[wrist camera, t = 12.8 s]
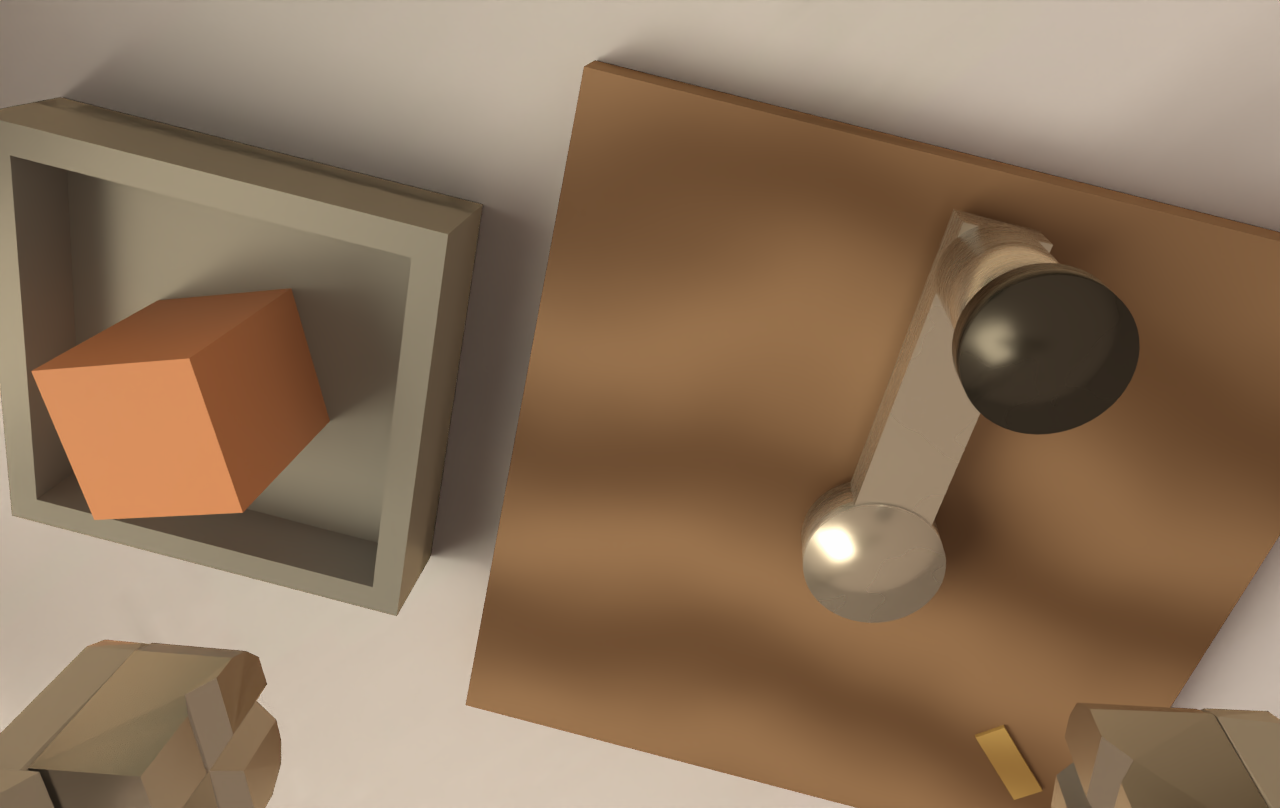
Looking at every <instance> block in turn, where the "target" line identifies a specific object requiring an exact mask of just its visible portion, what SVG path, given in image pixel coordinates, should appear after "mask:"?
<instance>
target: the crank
mask: <svg viewBox="0 0 1280 808" xmlns="http://www.w3.org/2000/svg"><path fill="white" fill-rule="evenodd" d="M1052 246H1053V244H1052V243H1051V242H1050V241H1049V240H1048V239H1047V238H1046V237H1045V236H1044V235H1043V234H1042V233H1041V232H1040V231H1038V230H1034V229H1030V228H1027V227H1023V226H1019V225H1015V224H1011V223H1007V222H1003V221H999V220H995V219H991V218H987V217H983V216H979V215H975V214H971V213H967V212H963V211H959V210H955V209H953V212H952V215H951V217H950V220H949V223H948V225H947V228H946V231H945V233H944V236H943V239H942V241H941V244H940V247H939V249H938V252H937V254H936V257H935V260H934V262H933V265H932V268H931V270H930V273H929V276H928V278H927V281H926V284H925V286H924V289H923V292H922V294H921V297H920V300H919V302H918V305H917V308H916V310H915V313H914V315H913V318H912V321H911V323H910V326H909V329H908V331H907V334H906V337H905V339H904V342H903V345H902V347H901V350H900V353H899V355H898V358H897V361H896V363H895V366H894V369H893V371H892V374H891V376H890V379H889V382H888V384H887V387H886V390H885V392H884V395H883V398H882V400H881V403H880V406H879V408H878V411H877V414H876V416H875V419H874V422H873V424H872V427H871V430H870V432H869V435H868V437H867V440H866V443H865V445H864V448H863V451H862V453H861V456H860V459H859V461H858V464H857V467H856V469H855V472H854V475H853V477H852V480H851V481H849V482H846V483H843V484H840V485H838V486H836V487H834V488H832V489H830V490H829V491H827V492H826V493H824V494H823V495H822V496H821V497H820V498H818V499H817V500H816V501H815V503H814V504H813V505H812V506H811V508H810V509H809V511H808V512H807V514H806V517H805V519H804V522H803V526H802V532H801V541H802V559H803V573H804V578H805V581H806V584H807V586H808V588H809V590H810V592H811V593H812V594H813V596H814V597H815V598H816V600H817V601H818V602H819V603H820V604H821V605H823V606H824V607H825V608H827V609H828V610H830V611H831V612H833V613H835V614H837V615H839V616H841V617H843V618H847V619H850V620H854V621H858V622H867V623H880V622H888V621H893V620H897V619H900V618H903V617H906V616H908V615H910V614H912V613H914V612H916V611H917V610H919V609H920V608H922V607H923V606H924V605H926V604H927V603H928V602H929V601H930V600H931V599H932V598H933V596H934V595H935V594H936V592H937V591H938V589H939V588H940V586H941V584H942V581H943V578H944V575H945V570H946V558H945V552H944V549H943V545H942V542H941V538H940V535H939V532H938V528H937V525H936V522H935V517H936V514H937V512H938V510H939V507H940V505H941V503H942V501H943V498H944V496H945V494H946V491H947V489H948V487H949V484H950V482H951V480H952V477H953V475H954V473H955V470H956V468H957V466H958V464H959V461H960V459H961V457H962V454H963V452H964V450H965V447H966V445H967V443H968V440H969V438H970V436H971V433H972V431H973V429H974V427H975V424H976V422H977V420H978V417H979V415H980V413H981V414H982V415H983V416H984V417H985V418H987V419H988V420H990V421H991V422H993V423H994V424H996V425H998V426H1001V427H1003V428H1005V429H1008V430H1011V431H1014V432H1019V433H1024V434H1035V435H1039V434H1052V433H1059V432H1063V431H1067V430H1071V429H1073V428H1076V427H1079V426H1081V425H1083V424H1085V423H1087V422H1089V421H1091V420H1093V419H1094V418H1096V417H1098V416H1099V415H1101V414H1102V413H1103V412H1105V411H1106V410H1107V409H1108V408H1109V407H1111V406H1112V405H1113V404H1114V403H1115V402H1116V401H1117V400H1118V399H1119V397H1120V396H1121V395H1122V393H1123V392H1124V391H1125V389H1126V388H1127V386H1128V384H1129V383H1130V381H1131V379H1132V377H1133V374H1134V372H1135V370H1136V366H1137V362H1138V358H1139V350H1140V345H1139V334H1138V329H1137V326H1136V323H1135V320H1134V318H1133V316H1132V314H1131V313H1130V311H1129V309H1128V308H1127V307H1126V305H1125V304H1124V303H1123V302H1122V300H1120V299H1119V298H1118V297H1117V296H1116V295H1115V294H1114V293H1113V292H1112V291H1111V290H1110V289H1109V288H1108V287H1107V286H1106V285H1105V284H1104V283H1103V282H1102V281H1101V280H1099V279H1098V278H1096V277H1095V276H1094V275H1092V274H1090V273H1088V272H1086V271H1084V270H1082V269H1080V268H1077V267H1073V266H1070V265H1065V264H1060V263H1059V262H1058V261H1057V260H1056V259H1055V258H1054V257H1053V256H1052V255H1051V254H1050V251H1051V249H1052Z"/></svg>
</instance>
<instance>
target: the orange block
mask: <svg viewBox="0 0 1280 808" xmlns="http://www.w3.org/2000/svg"><path fill="white" fill-rule="evenodd" d="M31 372H32V374H33V377H34V379H35V381H36V384H37V386H38V388H39V391H40V393H41V396H42V398H43V400H44V403H45V405H46V407H47V410H48V412H49V414H50V417H51V419H52V421H53V424H54V426H55V429H56V431H57V433H58V436H59V438H60V440H61V443H62V445H63V447H64V450H65V452H66V454H67V457H68V459H69V462H70V464H71V466H72V469H73V471H74V473H75V476H76V478H77V480H78V483H79V485H80V487H81V490H82V492H83V495H84V497H85V499H86V502H87V504H88V506H89V509H90V511H91V513H92V516H93V518H94V520H105V519H125V518H146V517H166V516H187V515H207V514H227V513H243V512H244V511H245V510H246V509H247V508H248V507H249V506H250V505H251V504H252V503H253V502H254V500H255V499H256V498H257V497H258V496H259V495H260V494H261V493H262V492H263V491H264V490H265V489H266V488H267V487H268V486H269V485H270V484H271V483H272V482H273V481H274V479H275V478H276V477H277V476H278V475H279V474H280V473H281V472H282V471H283V470H284V469H285V468H286V467H287V466H288V465H289V464H290V463H291V462H292V461H293V459H294V458H295V457H296V456H297V455H298V454H299V453H300V452H301V451H302V450H303V449H304V448H305V447H306V446H307V445H308V444H309V443H310V442H311V441H312V440H313V438H314V437H315V436H316V435H317V434H318V433H319V432H320V431H321V430H322V429H323V428H324V427H325V426H326V425H327V424H328V423H329V422H330V420H329V416H328V413H327V409H326V406H325V402H324V399H323V396H322V392H321V389H320V385H319V382H318V378H317V375H316V371H315V368H314V365H313V361H312V358H311V354H310V351H309V347H308V344H307V341H306V337H305V334H304V330H303V327H302V323H301V320H300V316H299V313H298V310H297V306H296V303H295V299H294V296H293V292H292V289H291V288H288V289H277V290H266V291H255V292H244V293H233V294H222V295H211V296H200V297H189V298H178V299H167V300H158V301H156V302H154V303H152V304H150V305H149V306H147V307H145V308H143V309H141V310H140V311H138V312H136V313H134V314H132V315H131V316H129V317H127V318H125V319H123V320H122V321H120V322H118V323H116V324H114V325H113V326H111V327H109V328H107V329H106V330H104V331H102V332H100V333H98V334H97V335H95V336H93V337H91V338H89V339H88V340H86V341H84V342H82V343H80V344H79V345H77V346H75V347H73V348H71V349H70V350H68V351H66V352H64V353H62V354H61V355H59V356H57V357H55V358H54V359H52V360H50V361H48V362H46V363H45V364H43V365H41V366H39V367H37V368H36V369H34V370H32V371H31Z"/></svg>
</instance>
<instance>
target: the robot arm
mask: <svg viewBox="0 0 1280 808" xmlns="http://www.w3.org/2000/svg"><path fill="white" fill-rule="evenodd" d="M266 685H267V683H266V679H265V676H264V673H263V670H262V666H261V663H260V660H259V657H257V656H255V655H253V654H251V653H249V652H246V651H239V650H227V649H216V648H204V647H193V646H182V645H170V644H159V643H151V644H144V643H134V642H123V641H113V640H103V641H100V642H98V643H95V644H92V645H90V646H87V647H86V648H85V649H84V650H83V651H82V652H81V653H80V654H79V655H78V656H77V657H76V658H75V659H74V660H73V661H72V662H71V663H70V664H69V665H68V666H67V667H66V668H65V669H64V670H63V671H62V672H61V673H60V674H59V675H58V676H57V677H56V678H55V679H54V680H53V681H52V682H51V683H50V684H49V685H48V686H47V687H46V688H45V689H44V690H43V691H42V692H41V693H40V694H39V695H38V696H37V697H36V698H35V699H34V700H33V701H32V702H31V703H30V704H29V705H28V706H27V707H26V708H25V709H24V710H23V711H22V712H21V713H20V714H19V715H18V716H17V717H16V718H15V719H14V720H13V721H12V722H11V723H10V724H9V725H8V726H7V727H6V728H5V729H4V730H3V731H2V732H1V733H0V808H265V807H266V806H267V804H268V802H269V800H270V798H271V797H272V795H273V791H274V787H275V784H276V780H277V776H278V773H279V769H280V765H281V738H280V734H279V729H278V725H277V721H276V719H275V718H274V717H273V716H272V715H271V714H270V713H269V712H268V711H267V710H266V709H265V708H263V707H262V706H261V705H260V704H259V703H258V702H257V699H258V698H259V696H260V694H261V693H262V691H263V690H264V688H265V686H266ZM1065 740H1066V743H1067V745H1068V748H1069V751H1070V754H1071V756H1072V759H1073V763H1071V764H1070V765H1069V766H1068V767H1066V768H1065V769H1064V770H1063V771H1061V772H1060V773H1059V774H1057V775H1056V779H1055V785H1054V791H1053V797H1052V803H1051V808H1280V719H1278V718H1277V717H1276V716H1274V715H1273V714H1271V713H1270V712H1268V711H1249V710H1227V709H1202V710H1197V709H1187V708H1169V707H1151V706H1132V705H1114V704H1096V703H1078V702H1077V704H1076V705H1075V707H1074V709H1073V710H1072V712H1071V713H1070V716H1069V720H1068V724H1067V729H1066V733H1065Z"/></svg>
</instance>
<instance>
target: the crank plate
mask: <svg viewBox="0 0 1280 808" xmlns="http://www.w3.org/2000/svg"><path fill="white" fill-rule="evenodd" d="M953 209H955V210H959V211H963V212H967V213H971V214H975V215H979V216H983V217H987V218H991V219H995V220H999V221H1003V222H1007V223H1011V224H1015V225H1019V226H1023V227H1027V228H1030V229H1034V230H1038V231H1040V232H1041V233H1042V234H1043V235H1044V236H1045V237H1046V238H1047V239H1048V240H1049V241H1050V242H1051V243H1052V244H1053V246H1052V249H1051V251H1050V254H1051V255H1052V256H1053V257H1054V258H1055V259H1056V260H1057V261H1058V262H1059V263H1060V264H1065V265H1070V266H1073V267H1077V268H1080V269H1082V270H1084V271H1086V272H1088V273H1090V274H1092V275H1094V276H1095V277H1096V278H1098V279H1099V280H1101V281H1102V282H1103V283H1104V284H1105V285H1106V286H1107V287H1108V288H1109V289H1110V290H1111V291H1112V292H1113V293H1114V294H1115V295H1116V296H1117V297H1118V298H1119V299H1120V300H1122V302H1123V303H1124V304H1125V305H1126V307H1127V308H1128V309H1129V311H1130V313H1131V314H1132V316H1133V318H1134V320H1135V323H1136V326H1137V329H1138V334H1139V345H1140V350H1139V358H1138V362H1137V366H1136V370H1135V372H1134V374H1133V377H1132V379H1131V381H1130V383H1129V384H1128V386H1127V388H1126V389H1125V391H1124V392H1123V393H1122V395H1121V396H1120V397H1119V399H1118V400H1117V401H1116V402H1115V403H1114V404H1113V405H1112V406H1111V407H1109V408H1108V409H1107V410H1106V411H1105V412H1103V413H1102V414H1101V415H1099V416H1098V417H1096V418H1094V419H1093V420H1091V421H1089V422H1087V423H1085V424H1083V425H1081V426H1079V427H1076V428H1073V429H1071V430H1067V431H1063V432H1059V433H1052V434H1039V435H1035V434H1024V433H1019V432H1014V431H1011V430H1008V429H1005V428H1003V427H1001V426H998V425H996V424H994V423H993V422H991V421H990V420H988V419H987V418H985V417H984V416H983V415H982V414H981V413H980V415H979V417H978V420H977V422H976V424H975V427H974V429H973V431H972V433H971V436H970V438H969V440H968V443H967V445H966V447H965V450H964V452H963V454H962V457H961V459H960V461H959V464H958V466H957V468H956V470H955V473H954V475H953V477H952V480H951V482H950V484H949V487H948V489H947V491H946V494H945V496H944V498H943V501H942V503H941V505H940V507H939V510H938V512H937V514H936V517H935V522H936V525H937V528H938V532H939V535H940V538H941V542H942V545H943V549H944V552H945V558H946V570H945V575H944V578H943V581H942V584H941V586H940V588H939V589H938V591H937V592H936V594H935V595H934V596H933V598H932V599H931V600H930V601H929V602H928V603H927V604H926V605H924V606H923V607H922V608H920V609H919V610H917V611H916V612H914V613H912V614H910V615H908V616H906V617H903V618H900V619H897V620H893V621H888V622H880V623H867V622H858V621H854V620H850V619H847V618H843V617H841V616H839V615H837V614H835V613H833V612H831V611H830V610H828V609H827V608H825V607H824V606H823V605H821V604H820V603H819V602H818V601H817V600H816V598H815V597H814V596H813V594H812V593H811V592H810V590H809V588H808V586H807V584H806V581H805V578H804V573H803V559H802V541H801V532H802V526H803V522H804V519H805V517H806V514H807V512H808V511H809V509H810V508H811V506H812V505H813V504H814V503H815V501H816V500H817V499H818V498H820V497H821V496H822V495H823V494H824V493H826V492H827V491H829V490H830V489H832V488H834V487H836V486H838V485H840V484H843V483H846V482H849V481H851V480H852V477H853V475H854V472H855V469H856V467H857V464H858V461H859V459H860V456H861V453H862V451H863V448H864V445H865V443H866V440H867V437H868V435H869V432H870V430H871V427H872V424H873V422H874V419H875V416H876V414H877V411H878V408H879V406H880V403H881V400H882V398H883V395H884V392H885V390H886V387H887V384H888V382H889V379H890V376H891V374H892V371H893V369H894V366H895V363H896V361H897V358H898V355H899V353H900V350H901V347H902V345H903V342H904V339H905V337H906V334H907V331H908V329H909V326H910V323H911V321H912V318H913V315H914V313H915V310H916V308H917V305H918V302H919V300H920V297H921V294H922V292H923V289H924V286H925V284H926V281H927V278H928V276H929V273H930V270H931V268H932V265H933V262H934V260H935V257H936V254H937V252H938V249H939V247H940V244H941V241H942V239H943V236H944V233H945V231H946V228H947V225H948V223H949V220H950V217H951V215H952V212H953ZM1279 535H1280V232H1276V231H1272V230H1268V229H1264V228H1260V227H1256V226H1252V225H1248V224H1244V223H1240V222H1237V221H1233V220H1229V219H1225V218H1221V217H1217V216H1213V215H1209V214H1205V213H1201V212H1197V211H1193V210H1189V209H1185V208H1181V207H1177V206H1173V205H1169V204H1165V203H1161V202H1157V201H1153V200H1149V199H1145V198H1141V197H1137V196H1133V195H1129V194H1125V193H1121V192H1117V191H1113V190H1109V189H1105V188H1101V187H1097V186H1093V185H1089V184H1085V183H1081V182H1077V181H1073V180H1069V179H1065V178H1061V177H1057V176H1053V175H1049V174H1045V173H1041V172H1037V171H1034V170H1030V169H1026V168H1022V167H1018V166H1014V165H1010V164H1006V163H1002V162H998V161H994V160H990V159H986V158H982V157H978V156H974V155H970V154H966V153H962V152H958V151H954V150H950V149H946V148H942V147H938V146H934V145H930V144H926V143H922V142H918V141H914V140H910V139H906V138H902V137H898V136H894V135H890V134H886V133H882V132H878V131H874V130H870V129H866V128H862V127H858V126H854V125H850V124H846V123H842V122H838V121H835V120H831V119H827V118H823V117H819V116H815V115H811V114H807V113H803V112H799V111H795V110H791V109H787V108H783V107H779V106H775V105H771V104H767V103H763V102H759V101H755V100H751V99H747V98H743V97H739V96H735V95H731V94H727V93H723V92H719V91H715V90H711V89H707V88H703V87H699V86H695V85H691V84H687V83H683V82H679V81H675V80H671V79H667V78H663V77H659V76H655V75H651V74H647V73H643V72H639V71H635V70H632V69H628V68H624V67H620V66H616V65H612V64H608V63H604V62H600V61H596V60H595V61H593V62H591V63H589V64H588V65H586V66H584V70H583V75H582V81H581V86H580V91H579V97H578V102H577V108H576V113H575V118H574V124H573V129H572V135H571V140H570V145H569V151H568V156H567V162H566V167H565V172H564V178H563V183H562V188H561V194H560V199H559V205H558V210H557V215H556V221H555V226H554V232H553V237H552V242H551V248H550V253H549V259H548V264H547V269H546V275H545V280H544V285H543V291H542V296H541V302H540V307H539V312H538V318H537V323H536V329H535V334H534V339H533V345H532V350H531V356H530V361H529V366H528V372H527V377H526V382H525V388H524V393H523V399H522V404H521V409H520V415H519V420H518V426H517V431H516V436H515V442H514V447H513V453H512V458H511V463H510V469H509V474H508V479H507V485H506V490H505V496H504V501H503V506H502V512H501V517H500V523H499V528H498V533H497V539H496V544H495V549H494V555H493V560H492V566H491V571H490V576H489V582H488V587H487V593H486V598H485V603H484V609H483V614H482V620H481V625H480V630H479V636H478V641H477V646H476V652H475V657H474V663H473V668H472V673H471V679H470V684H469V690H468V695H467V700H466V705H468V706H472V707H475V708H479V709H483V710H487V711H491V712H494V713H498V714H502V715H506V716H510V717H514V718H517V719H521V720H525V721H529V722H533V723H536V724H540V725H544V726H548V727H552V728H555V729H559V730H563V731H567V732H571V733H574V734H578V735H582V736H586V737H590V738H594V739H597V740H601V741H605V742H609V743H613V744H616V745H620V746H624V747H628V748H632V749H635V750H639V751H643V752H647V753H651V754H654V755H658V756H662V757H666V758H670V759H674V760H677V761H681V762H685V763H689V764H693V765H696V766H700V767H704V768H708V769H712V770H715V771H719V772H723V773H727V774H731V775H734V776H738V777H742V778H746V779H750V780H754V781H757V782H761V783H765V784H769V785H773V786H776V787H780V788H784V789H788V790H792V791H795V792H799V793H803V794H807V795H811V796H814V797H818V798H822V799H826V800H830V801H833V802H837V803H841V804H845V805H849V806H853V807H856V808H1051V803H1052V797H1053V791H1054V785H1055V779H1056V775H1057V774H1059V773H1060V772H1061V771H1063V770H1064V769H1065V768H1066V767H1068V766H1069V765H1070V764H1071V763H1073V759H1072V756H1071V754H1070V751H1069V748H1068V745H1067V743H1066V740H1065V733H1066V729H1067V724H1068V720H1069V716H1070V713H1071V712H1072V710H1073V709H1074V707H1075V705H1076V704H1077V702H1078V703H1096V704H1114V705H1132V706H1151V707H1169V708H1170V707H1171V705H1172V704H1173V702H1174V701H1175V699H1176V698H1177V696H1178V694H1179V693H1180V691H1181V690H1182V688H1183V687H1184V685H1185V683H1186V682H1187V680H1188V679H1189V677H1190V676H1191V674H1192V672H1193V671H1194V669H1195V668H1196V666H1197V665H1198V663H1199V661H1200V660H1201V658H1202V657H1203V655H1204V654H1205V652H1206V650H1207V649H1208V647H1209V646H1210V644H1211V642H1212V641H1213V639H1214V638H1215V636H1216V635H1217V633H1218V631H1219V630H1220V628H1221V627H1222V625H1223V624H1224V622H1225V620H1226V619H1227V617H1228V616H1229V614H1230V613H1231V611H1232V609H1233V608H1234V606H1235V605H1236V603H1237V602H1238V600H1239V598H1240V597H1241V595H1242V594H1243V592H1244V590H1245V589H1246V587H1247V586H1248V584H1249V583H1250V581H1251V579H1252V578H1253V576H1254V575H1255V573H1256V572H1257V570H1258V568H1259V567H1260V565H1261V564H1262V562H1263V561H1264V559H1265V557H1266V556H1267V554H1268V553H1269V551H1270V550H1271V548H1272V546H1273V545H1274V543H1275V542H1276V540H1277V539H1278V537H1279Z"/></svg>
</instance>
